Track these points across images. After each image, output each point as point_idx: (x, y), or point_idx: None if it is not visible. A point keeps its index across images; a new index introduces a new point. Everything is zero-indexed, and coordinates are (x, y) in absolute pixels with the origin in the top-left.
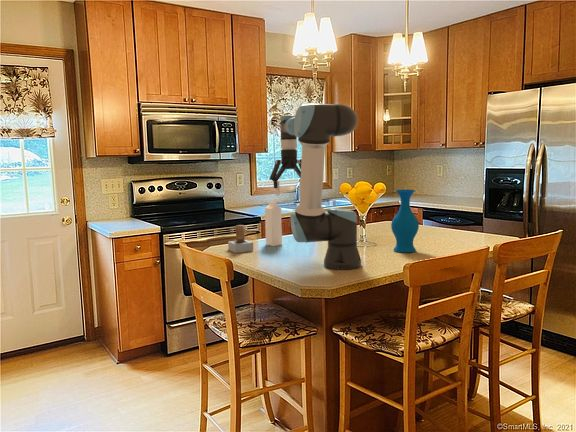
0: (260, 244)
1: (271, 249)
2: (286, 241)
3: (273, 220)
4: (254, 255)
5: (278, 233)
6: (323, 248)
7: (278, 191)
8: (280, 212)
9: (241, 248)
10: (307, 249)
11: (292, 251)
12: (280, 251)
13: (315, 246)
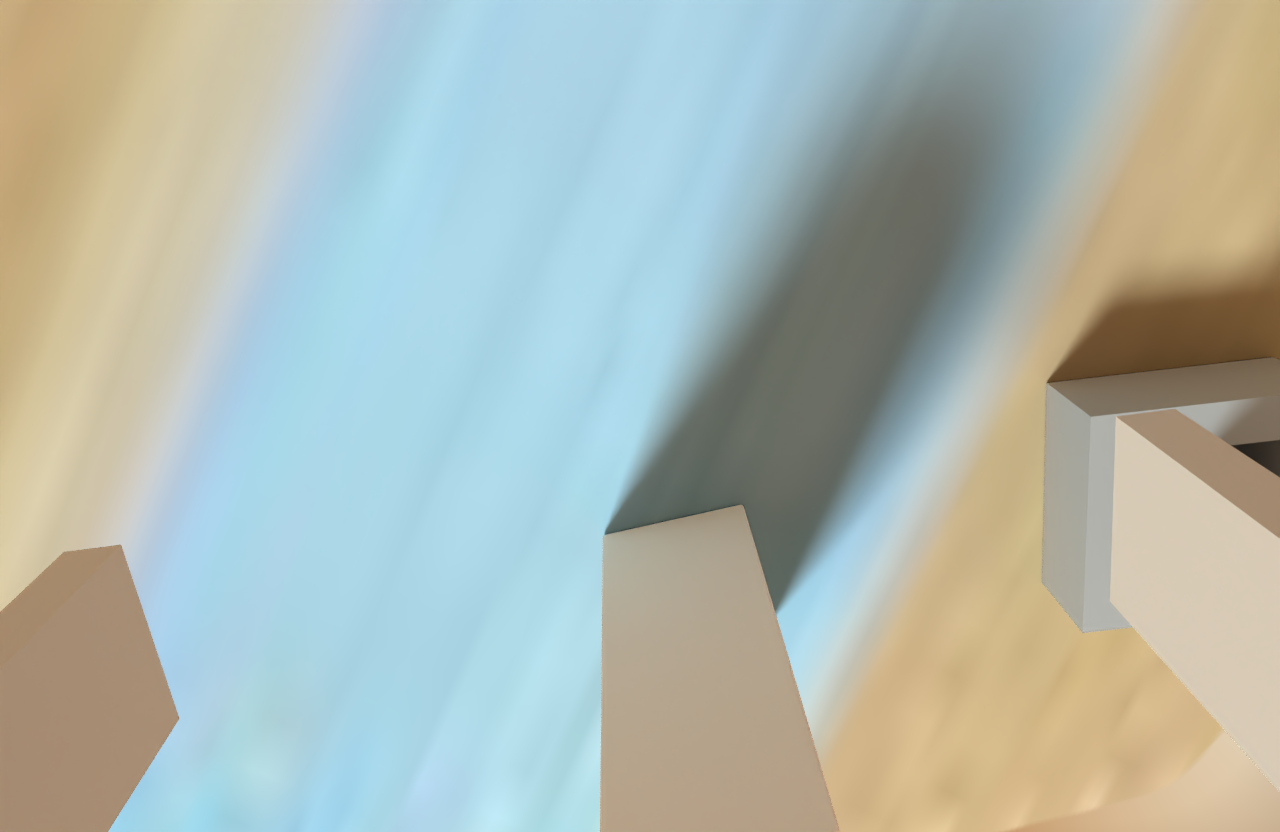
0: (816, 663)
1: (831, 344)
2: (476, 684)
3: (764, 692)
4: (1167, 114)
5: (658, 596)
6: (200, 67)
7: (1242, 467)
8: (620, 806)
9: (1227, 378)
10: (425, 117)
11: (653, 98)
12: (787, 177)
13: (254, 243)
